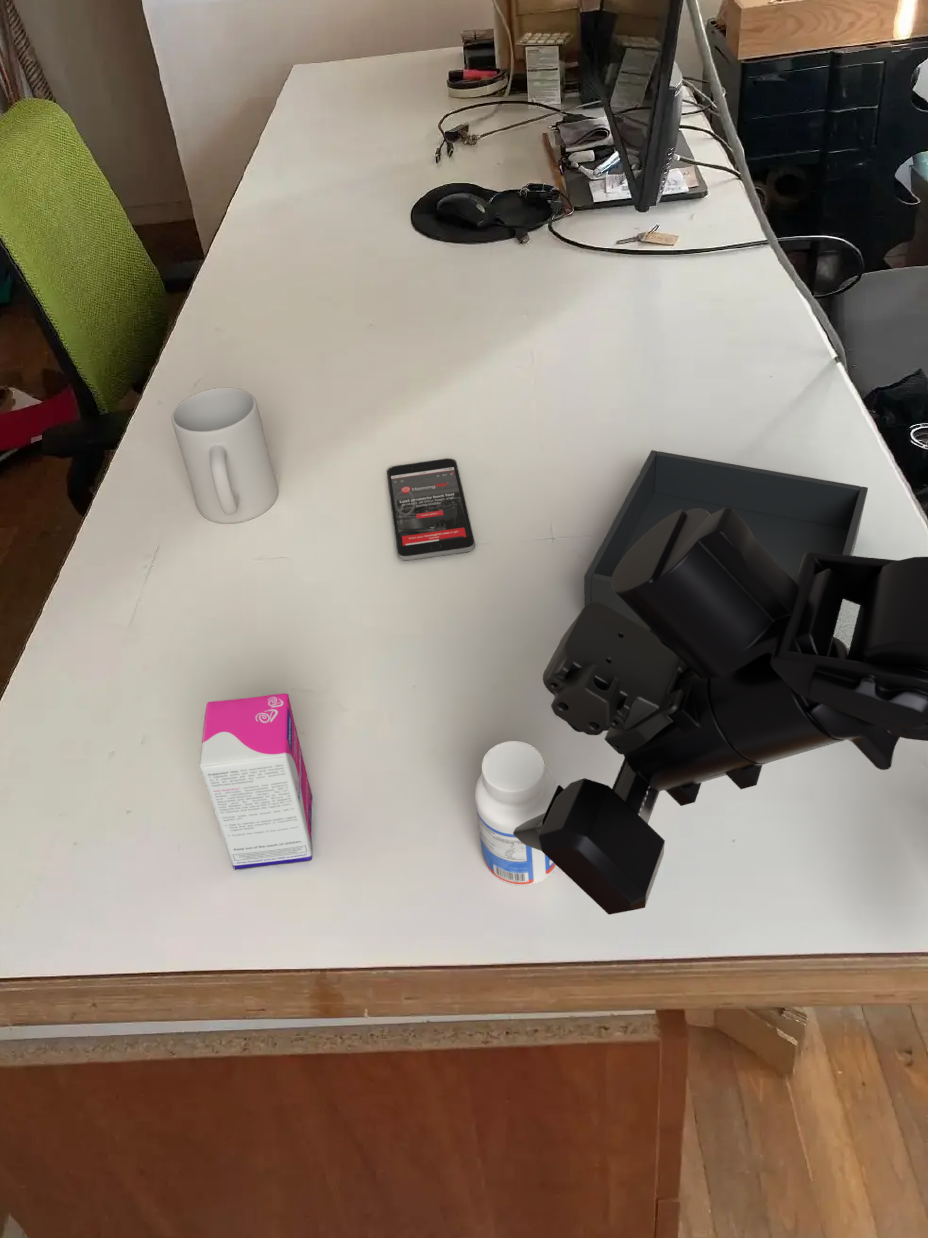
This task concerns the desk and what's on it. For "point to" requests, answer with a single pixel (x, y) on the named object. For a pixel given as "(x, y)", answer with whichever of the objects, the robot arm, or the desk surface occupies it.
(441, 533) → the smartphone
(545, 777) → the pill bottle
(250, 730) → the supplement box
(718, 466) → the dark grey storage tray
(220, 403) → the mug
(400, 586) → the desk surface
